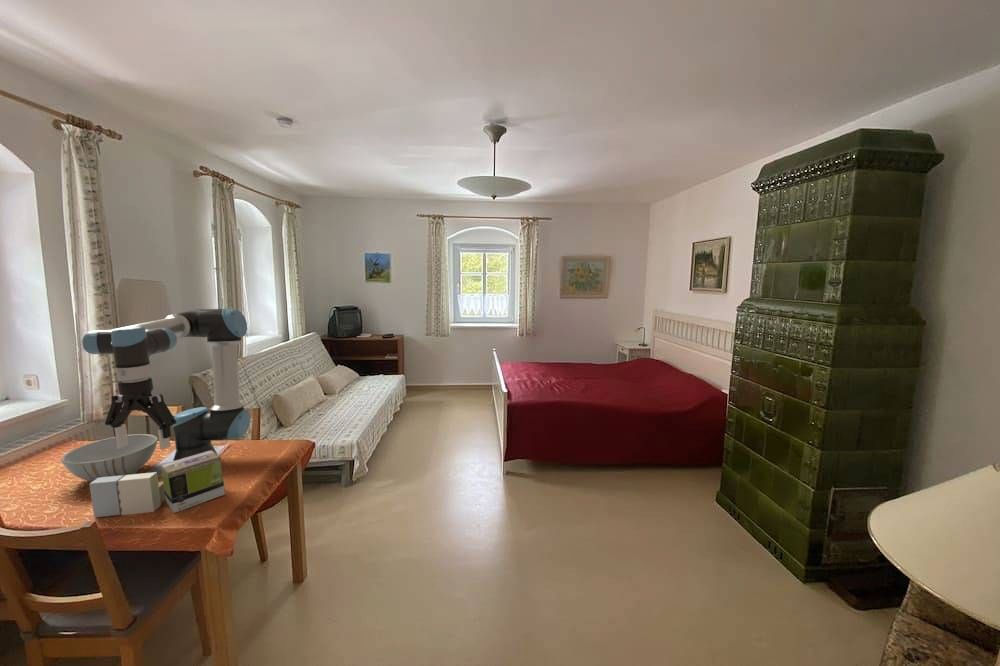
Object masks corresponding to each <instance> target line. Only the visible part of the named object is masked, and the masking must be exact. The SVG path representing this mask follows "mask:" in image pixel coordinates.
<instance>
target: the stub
mask: <svg viewBox="0 0 1000 666" xmlns="http://www.w3.org/2000/svg"><path fill="white" fill-rule="evenodd" d="M122 476H124V475H121V476H110V477H100V478H97V479H96V480H94V481H90V483H89V490H90V497H91V498H90V499H91V504H92V505H91V506H92V509H93V510H92V512H93V518H94V519H95V518H102V517H110V516H111V517H112V516H121V515H122V514H121V511H120V508H121V507H120V503H119V495H118V486H117V480H118V479H120V478H121V477H122Z"/></svg>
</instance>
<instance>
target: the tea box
mask: <svg viewBox="0 0 1000 666" xmlns="http://www.w3.org/2000/svg"><path fill="white" fill-rule="evenodd" d="M217 454H218V453H217ZM217 454H216V453H214V452H213V451H212V450H209V451H206V452H203V453H199V454H196V455H192V456H189V457H185V458H182V459H179V460H175V461H173V460H172V461H169V462H165V463H162V464H160V470H161V476H162V477H161V478H162V482H163V484H164V492H165V498H166V499H165V502H166V504H167V505H168V507H169V508H170V510H171V512H172V513H173V514H176V513H178V512H181V511H184V510H186V509H188V508H192V507H195V506H197V505H200V504H202V503H205V502H208V501H210V500H211V501H212V500H213V499H216V498H219V497H221V496H224V495H226V490H225V482H224V475H223V474H224V472H223V467H222V460H221V456H219V455H217Z"/></svg>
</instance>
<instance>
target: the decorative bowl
mask: <svg viewBox="0 0 1000 666" xmlns="http://www.w3.org/2000/svg"><path fill="white" fill-rule="evenodd" d="M127 437H128V444H129V445H127V446H125V447H123V448H120V449H118V448H117V442H116V437H115V436H114V437H108V438H104V439H100V440H96V441H93V442H89V443H86V444H83V445H80V446H78V447H75V448H73V449H71V450H69V451H67V452H66V453H64V454H63V455H62V456H61V459H60V461H61V463H62V465H63V466H64V467H65V470H66V469H67V471H68V472H69V473H71V474H72V475H73V476H75V477H76V478H79V479H81V480H84V481H89V482H93V481H94V480H96V479H97V478H100V477H110V476H121V475H132V474H138V471H139V470H140V469H141V468H143V466H145V465H146V464H147V463H148V462H149V461H150V459H151V457H152V456H153V455H154V453H155V450H156V448H157V445H158V441H159V437H158V436H156V435H153V434H148V433H147V434H145V433H135V434H127Z"/></svg>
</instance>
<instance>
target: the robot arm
mask: <svg viewBox="0 0 1000 666" xmlns="http://www.w3.org/2000/svg"><path fill="white" fill-rule="evenodd" d="M247 324H248V323H247V320H246V316H245V315H244V314H243V312H241V311H240V310H239V309H235V308H197V309H196V308H195V309H191V310H190V309H189V310H187V311H183V312H177V313H172V314H170V315H167V316H166V317H165V318H163V319H157V320H152V321H147V322H142V323H137V324H132V325H126V326H122V327H116V328H112V329H104V330H103V329H98V330H91V331H87V332H86V333H85V334H84V335H83V337H82V339H81V344H82V348H83V350H84V351H85V352H86V353H88V354H91V355H101V356H104V355H113V358H114V364H115V365H114V367H115V372H116V380H117V381H118V383H117V388H118V394H114V395H112V396H111V404H110V407H109V410H108V412H107V416H106V418H105V423H104V424H105V426H111V428H112V429H113V436H114V437H116V442H117V448H118V449H120V448H123V447H125V446H127V445H129V444H128V437H127V435H128V430H127V425H126V424H125V421H126V419H127V418H128V417H129V416H130V414H131V413H132V412H133V411H138V412H143V413H144V414H147V416H149V418H150V419H151V420H152V421H153V422H154V423H155V424H156V425H157V426H158V427H159V428H158V429H157V435H158V436H157V437H158V441H159V443H158V444H159V449H160V451H165V449H168V448H170V447H171V439H170V438H171V436H172V435H171V433H172V431H171V426H172V429H173V436H174V443H175V453H174V456H173V459H172V461H175V460H179V459H182V458H185V457H189V456H192V455H196V454H199V453H203V452H206V451H209V450H212V451H213V452H214V453H216V454H217V455H218V452H217V450H216V449H215V447H214V445H213V443H212V441H214V440H215V441H217V440H229V441H230V440H235V439H240V438H242V437H243V436H245V435H246V433H247V432H248V430H249V428H250V424H251V417H252V416H251V413H250V410H248V409H245V405H244V404H243V402H241V401H240V385H239V384H240V383H239V358H238V355H239V354H238V345H239V344H240V343H241V342H242V337H245V336H246V335H247V331H248V325H247ZM182 338H206V340H207V341H206V342H207V343H208V344H209V345H210V346H211V349H212V350H211V354H212V373H213V375H212V376H213V378H212V379H213V400H214V404H213V405H212V406H211V407H210V409H209V408H208V407H206V406H200V407H195V408H190V409H187V410H183V411H180V412H178V413H177V414H175V415H173V414H172V412H171V410H170V408H169V407H168V405H167V404H166V403H165V400H164V396H163V395H162V394H157V395H153V394H152V391H153V390H154V385H153V379H152V378H151V377H152V368H151V362H150V356H152V355H155V354H160V353H164V352H167V351H169V350H172V349H173V348H174V347H176V345H177V343H178V339H182ZM218 456H219V455H218Z"/></svg>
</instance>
